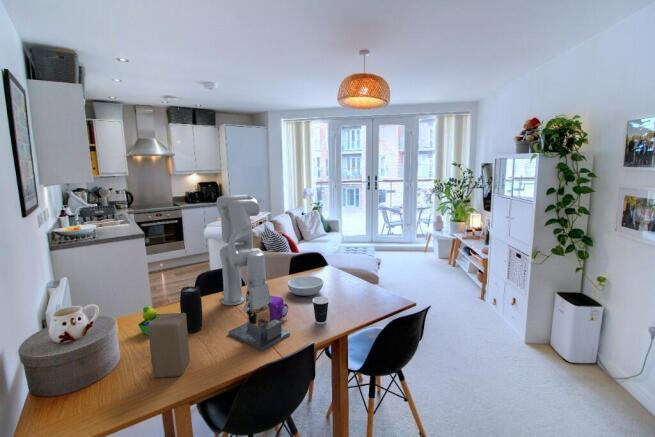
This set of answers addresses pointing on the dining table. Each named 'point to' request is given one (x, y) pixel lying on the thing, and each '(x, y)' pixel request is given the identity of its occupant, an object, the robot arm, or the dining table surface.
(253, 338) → the plate
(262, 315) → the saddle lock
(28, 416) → the dining table surface
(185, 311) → the portable speaker
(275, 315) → the toy camera
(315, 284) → the serving bowl
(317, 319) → the dixie cup
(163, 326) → the wooden block
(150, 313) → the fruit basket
